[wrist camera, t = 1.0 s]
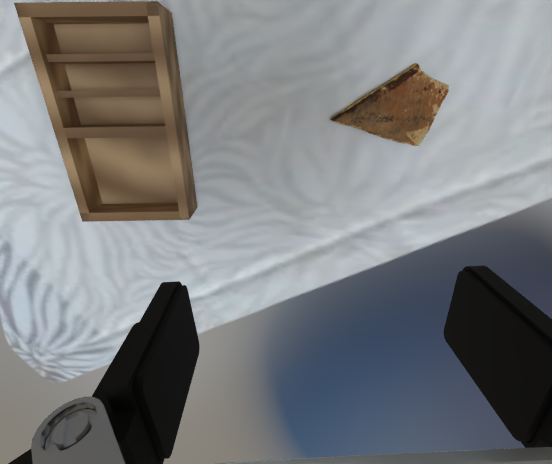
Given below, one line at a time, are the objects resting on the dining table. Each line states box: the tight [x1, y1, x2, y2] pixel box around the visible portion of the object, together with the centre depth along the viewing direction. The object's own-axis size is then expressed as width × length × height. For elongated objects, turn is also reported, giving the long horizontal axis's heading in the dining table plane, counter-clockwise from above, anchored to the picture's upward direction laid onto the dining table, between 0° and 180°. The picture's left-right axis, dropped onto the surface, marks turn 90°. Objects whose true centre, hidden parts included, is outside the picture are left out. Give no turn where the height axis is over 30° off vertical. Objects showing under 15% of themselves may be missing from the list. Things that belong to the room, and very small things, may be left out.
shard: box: [331, 64, 449, 146], centre depth 32 cm, size 11×8×2 cm
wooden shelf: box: [14, 2, 197, 221], centre depth 31 cm, size 20×12×4 cm, turn 1°
